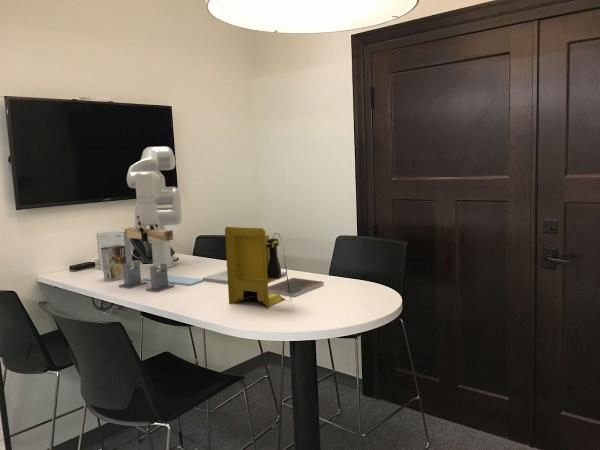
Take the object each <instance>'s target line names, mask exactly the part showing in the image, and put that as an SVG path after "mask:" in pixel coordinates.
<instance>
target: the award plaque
mask: <svg viewBox="0 0 600 450" xmlns="http://www.w3.org/2000/svg"><path fill="white" fill-rule="evenodd" d="M283 277H287V275H286V271H281V278H283ZM202 279H203V280H204V281H206V282H205V283H212V282H213V283H212V284H219V285H220V284H221V285H228V275H227V269H226V270H223V271H220V272H216V273H214V274H210V275H207V276H205V277H202ZM204 281H203V282H204ZM274 281H275V280H271V282H274Z"/></svg>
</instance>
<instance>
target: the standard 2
mask: <svg viewBox="0 0 600 450" xmlns="http://www.w3.org/2000/svg"><path fill="white" fill-rule="evenodd" d="M149 273H150V276H151V281H150V284H151V285H150V287H147V288H145V291H146V292H154V293H159V292H162V290H163V291H165V289H166V290H169V289H172V288H174V287H175V284H170V283H168V275H169V274H168V268H167V264H160V268H159V271H158V268H157V267H155V266H151V267H150V266H149Z"/></svg>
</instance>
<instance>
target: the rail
mask: <svg viewBox="0 0 600 450" xmlns="http://www.w3.org/2000/svg"><path fill="white" fill-rule="evenodd" d="M124 230H125V238H130V239H136V240H142V236H141V233H140V231H139V230H138V229H136V228H135V227H129V228H124ZM146 233H147V238H148V241H149V240H159V241H169V240H170V241H173V240H174V232H173V230H172V229H171V230H169V229H167V230H155V229H150V228H146Z"/></svg>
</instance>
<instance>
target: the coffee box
mask: <svg viewBox="0 0 600 450" xmlns="http://www.w3.org/2000/svg"><path fill="white" fill-rule="evenodd" d="M101 252H102V262H103V269H102V271H103V280H104V281H106V280H108V282H115V281H114V280H116V281H119V280H118V279H120V280H124V279H123V278H124V273H123V264H126V255H125V246H122V245H114V246H109V247H103V248H101Z"/></svg>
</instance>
